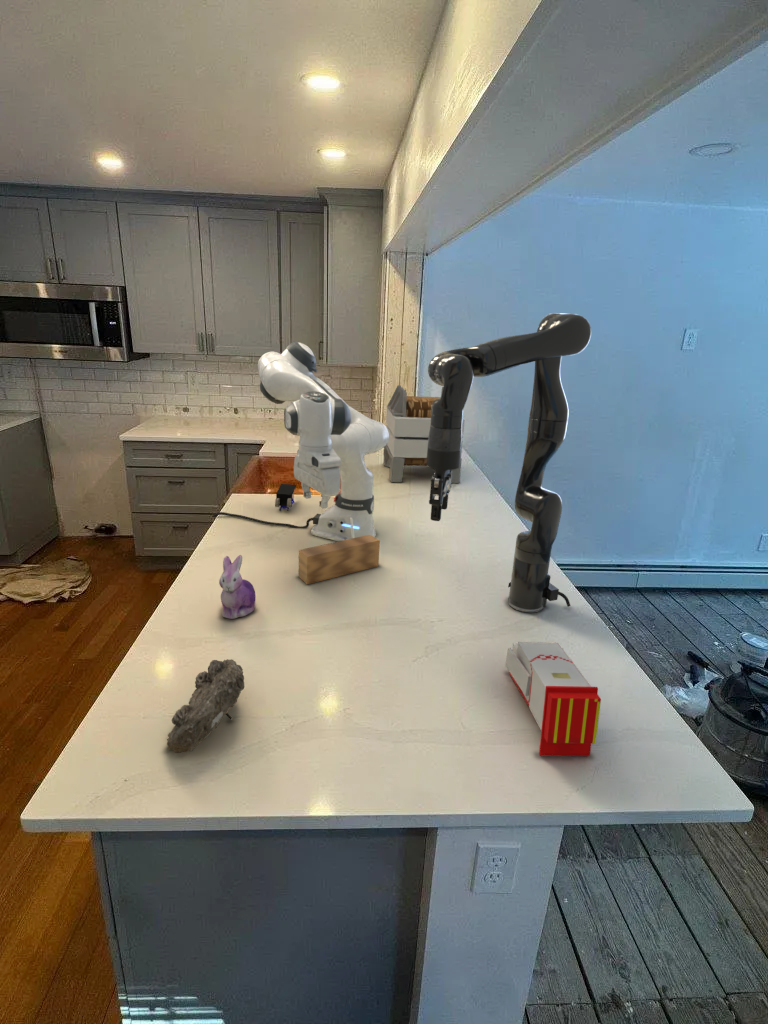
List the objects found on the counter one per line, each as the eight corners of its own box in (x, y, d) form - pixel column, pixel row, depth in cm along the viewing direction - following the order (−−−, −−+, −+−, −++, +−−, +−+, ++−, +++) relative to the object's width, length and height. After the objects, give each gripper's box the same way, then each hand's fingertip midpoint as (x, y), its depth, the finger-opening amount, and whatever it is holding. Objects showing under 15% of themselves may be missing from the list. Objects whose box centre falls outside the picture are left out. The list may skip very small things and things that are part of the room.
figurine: (224, 623, 139) (221, 568, 134) (215, 604, 148) (212, 552, 142) (262, 616, 143) (260, 562, 138) (251, 598, 152) (249, 546, 147)
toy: (554, 624, 127) (610, 694, 97) (548, 679, 130) (602, 763, 100) (500, 623, 126) (541, 693, 97) (496, 678, 129) (534, 763, 100)
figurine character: (292, 516, 215) (297, 499, 228) (291, 498, 212) (296, 482, 225) (274, 516, 215) (280, 499, 228) (273, 498, 211) (279, 482, 225)
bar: (307, 584, 161) (307, 556, 158) (298, 577, 165) (298, 550, 162) (378, 566, 174) (379, 540, 171) (369, 559, 178) (370, 534, 175)
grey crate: (382, 463, 289) (386, 382, 275) (445, 464, 293) (451, 384, 279) (390, 482, 257) (394, 392, 243) (460, 483, 261) (468, 394, 247)
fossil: (192, 660, 117) (244, 628, 112) (224, 691, 120) (276, 661, 115) (142, 746, 98) (202, 712, 93) (182, 779, 101) (242, 748, 96)
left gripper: (287, 446, 159) (288, 493, 163) (323, 464, 143) (322, 515, 148) (307, 444, 162) (308, 490, 167) (344, 461, 146) (343, 511, 151)
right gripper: (456, 455, 119) (449, 527, 124) (465, 441, 132) (459, 507, 137) (421, 451, 121) (416, 522, 126) (434, 438, 134) (429, 503, 139)
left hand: (315, 502), depth 157 cm, fingers open, 8 cm apart
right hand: (439, 514), depth 132 cm, fingers open, 8 cm apart
